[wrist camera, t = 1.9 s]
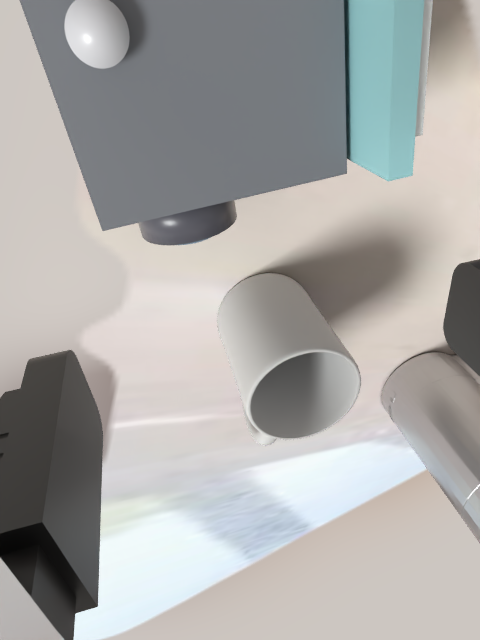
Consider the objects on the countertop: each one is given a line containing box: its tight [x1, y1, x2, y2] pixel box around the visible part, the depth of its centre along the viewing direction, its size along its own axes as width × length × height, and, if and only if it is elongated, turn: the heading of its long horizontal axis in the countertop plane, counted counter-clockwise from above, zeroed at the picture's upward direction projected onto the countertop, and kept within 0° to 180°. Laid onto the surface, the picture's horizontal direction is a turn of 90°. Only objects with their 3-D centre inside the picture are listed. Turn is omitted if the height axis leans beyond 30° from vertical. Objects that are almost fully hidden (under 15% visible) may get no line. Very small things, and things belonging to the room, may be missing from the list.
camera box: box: [20, 0, 347, 245], centre depth 24 cm, size 13×13×11 cm
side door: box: [344, 0, 433, 181], centre depth 23 cm, size 2×9×13 cm, turn 9°
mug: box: [217, 273, 361, 446], centre depth 36 cm, size 12×8×11 cm
